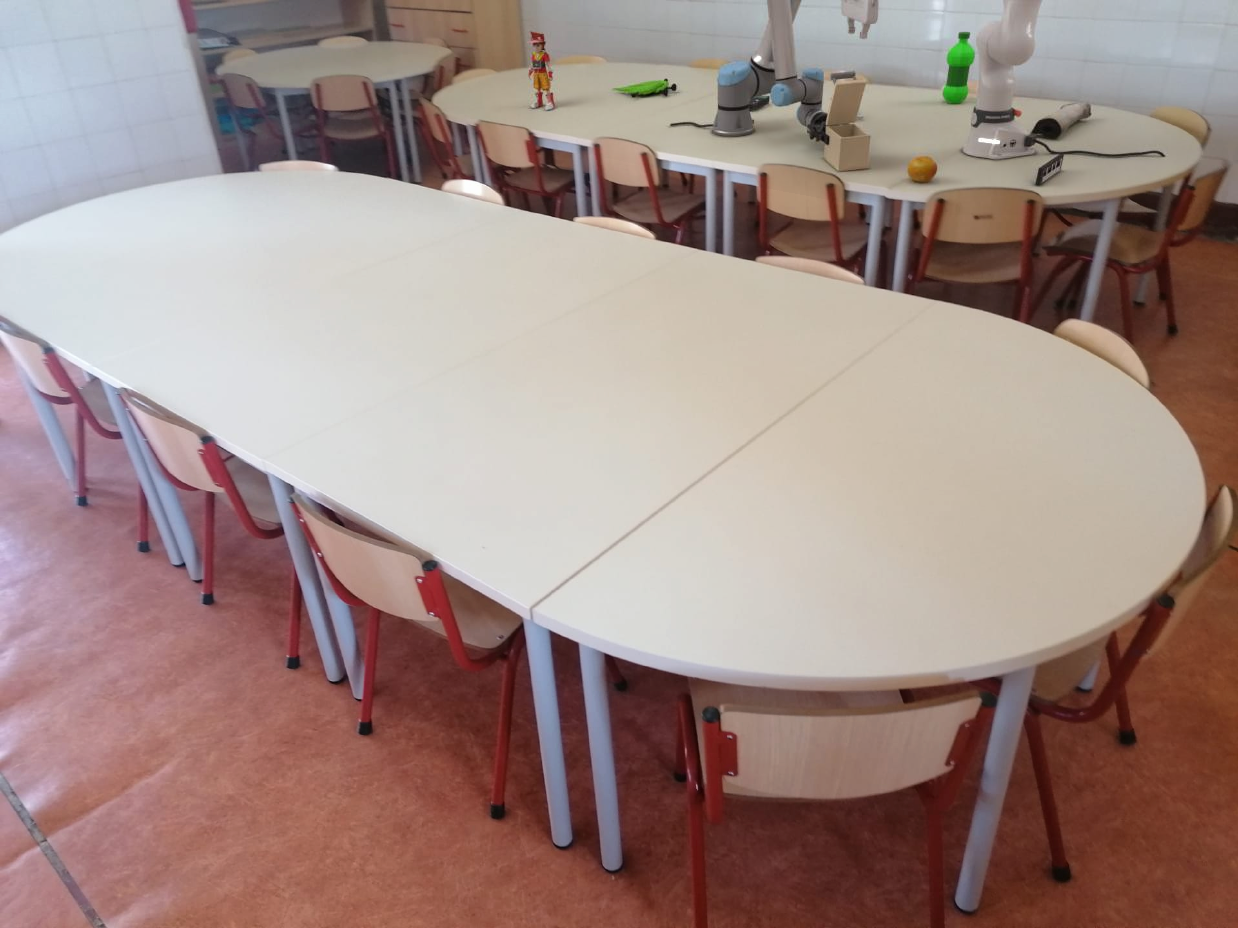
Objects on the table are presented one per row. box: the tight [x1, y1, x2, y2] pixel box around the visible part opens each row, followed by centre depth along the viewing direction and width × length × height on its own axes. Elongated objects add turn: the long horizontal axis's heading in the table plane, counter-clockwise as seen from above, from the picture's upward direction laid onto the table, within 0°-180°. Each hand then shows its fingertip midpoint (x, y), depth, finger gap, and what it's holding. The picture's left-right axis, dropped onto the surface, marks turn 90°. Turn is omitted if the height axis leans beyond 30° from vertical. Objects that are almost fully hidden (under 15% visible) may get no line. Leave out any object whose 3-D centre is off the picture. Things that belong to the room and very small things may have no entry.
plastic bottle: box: [942, 31, 976, 104], centre depth 348 cm, size 10×10×25 cm
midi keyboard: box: [1035, 154, 1065, 186], centre depth 273 cm, size 18×1×5 cm, turn 138°
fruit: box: [907, 155, 938, 183], centre depth 277 cm, size 8×8×8 cm
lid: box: [826, 70, 867, 125], centre depth 292 cm, size 16×10×9 cm
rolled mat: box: [1029, 101, 1092, 140], centre depth 316 cm, size 30×9×10 cm
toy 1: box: [527, 31, 556, 111], centre depth 374 cm, size 12×9×30 cm
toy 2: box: [612, 78, 677, 99], centre depth 396 cm, size 28×5×30 cm
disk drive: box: [749, 95, 771, 111], centre depth 365 cm, size 10×3×15 cm
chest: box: [823, 123, 871, 172], centre depth 294 cm, size 15×10×10 cm, turn 7°
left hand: (843, 139), depth 296 cm, fingers closed on chest, 10 cm apart
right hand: (857, 36), depth 275 cm, fingers open, 8 cm apart
